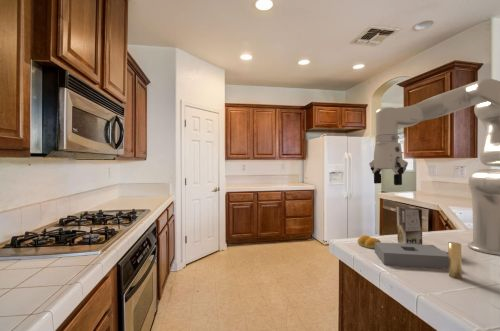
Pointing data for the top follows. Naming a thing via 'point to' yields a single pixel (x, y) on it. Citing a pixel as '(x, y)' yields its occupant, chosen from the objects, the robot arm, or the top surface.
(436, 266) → the hole block
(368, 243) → the bread roll
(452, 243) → the brass peg
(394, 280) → the top surface
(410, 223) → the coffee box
